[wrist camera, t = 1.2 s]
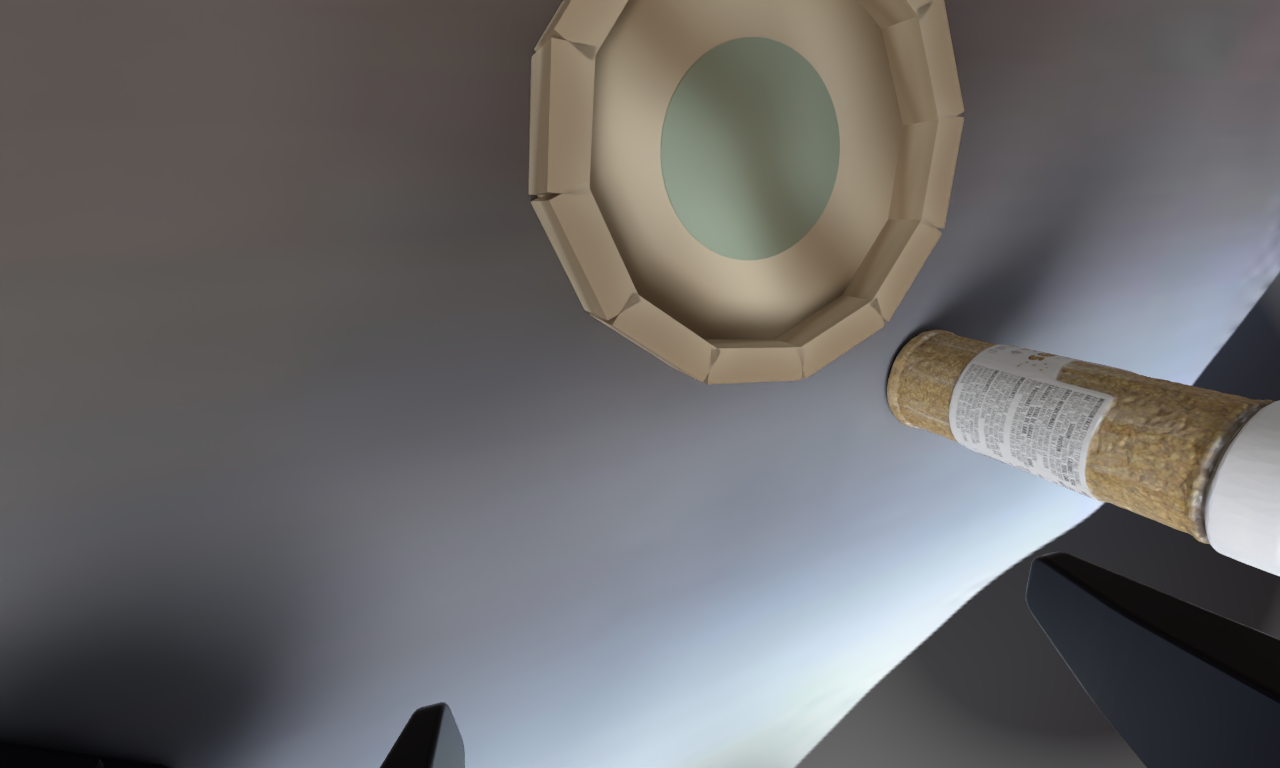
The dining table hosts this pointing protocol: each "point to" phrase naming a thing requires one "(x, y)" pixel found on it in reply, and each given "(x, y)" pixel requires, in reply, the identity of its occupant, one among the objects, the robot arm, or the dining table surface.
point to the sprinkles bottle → (1105, 435)
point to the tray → (744, 171)
